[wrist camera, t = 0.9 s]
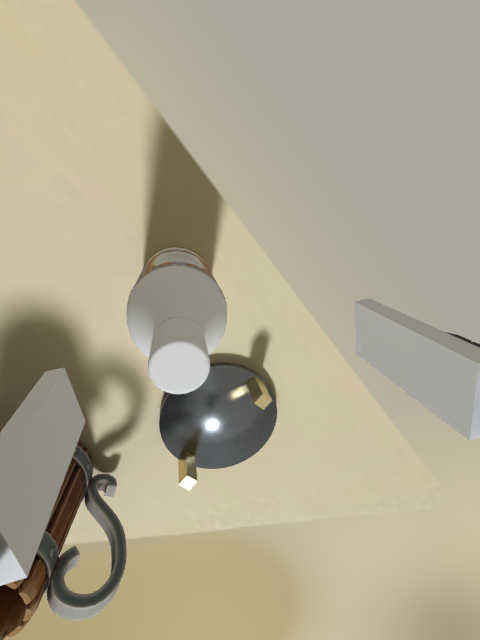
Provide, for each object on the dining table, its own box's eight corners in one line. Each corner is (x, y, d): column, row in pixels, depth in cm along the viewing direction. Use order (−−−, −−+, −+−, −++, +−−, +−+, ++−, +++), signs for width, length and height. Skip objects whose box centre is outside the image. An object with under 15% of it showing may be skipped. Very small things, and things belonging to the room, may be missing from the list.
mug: (-14, 493, 38) (-124, 661, 24) (4, 416, 35) (-108, 554, 21) (124, 510, 42) (99, 660, 28) (148, 443, 40) (134, 571, 26)
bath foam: (213, 249, 34) (261, 301, 15) (207, 314, 36) (243, 429, 17) (143, 243, 32) (99, 291, 14) (141, 310, 34) (101, 432, 16)
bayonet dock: (167, 470, 41) (167, 505, 36) (151, 372, 37) (148, 396, 32) (275, 451, 43) (287, 481, 39) (272, 355, 39) (286, 376, 34)
